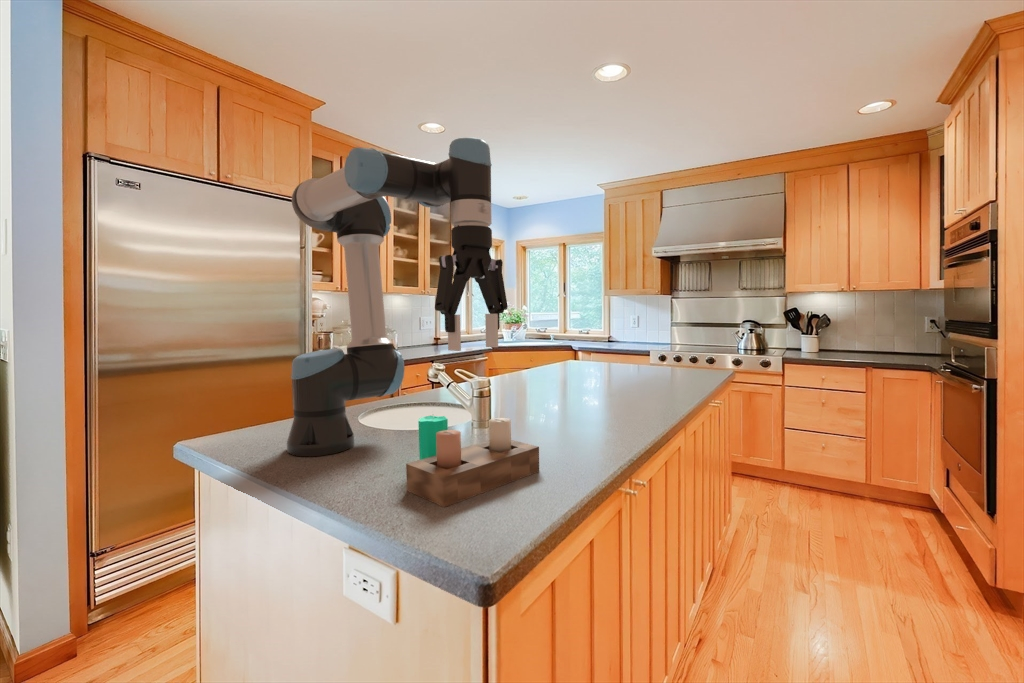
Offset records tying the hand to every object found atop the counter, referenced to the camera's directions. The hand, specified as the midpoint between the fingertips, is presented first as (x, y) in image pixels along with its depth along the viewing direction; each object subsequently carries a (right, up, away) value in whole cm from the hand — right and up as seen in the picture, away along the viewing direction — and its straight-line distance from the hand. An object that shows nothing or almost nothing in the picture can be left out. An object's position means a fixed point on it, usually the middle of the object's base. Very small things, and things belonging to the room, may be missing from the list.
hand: (473, 348), depth 91 cm
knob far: (+5, -21, +6) cm, 22 cm away
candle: (-9, -25, +9) cm, 28 cm away
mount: (0, -25, +2) cm, 25 cm away
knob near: (-4, -21, -3) cm, 22 cm away
